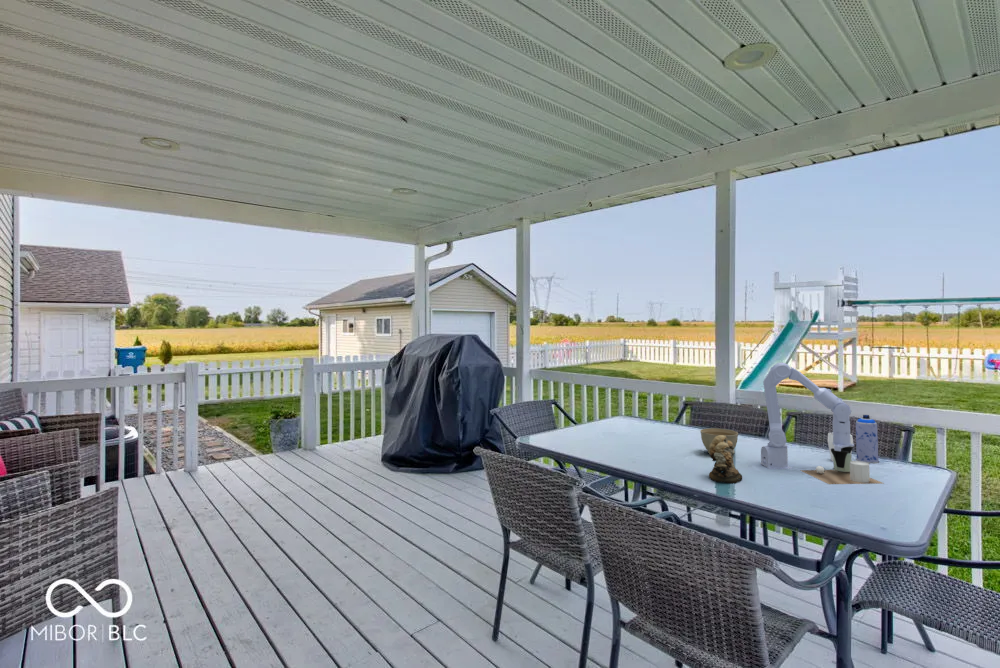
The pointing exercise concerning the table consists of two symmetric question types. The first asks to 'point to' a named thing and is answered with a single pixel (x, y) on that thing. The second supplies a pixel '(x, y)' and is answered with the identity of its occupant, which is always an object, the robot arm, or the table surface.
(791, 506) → the table surface
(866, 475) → the white acorn nut
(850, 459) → the sage green acorn nut
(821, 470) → the white marble
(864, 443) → the aerosol can
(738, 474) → the owl figurine
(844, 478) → the walnut board
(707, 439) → the planter bowl
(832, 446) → the cup
